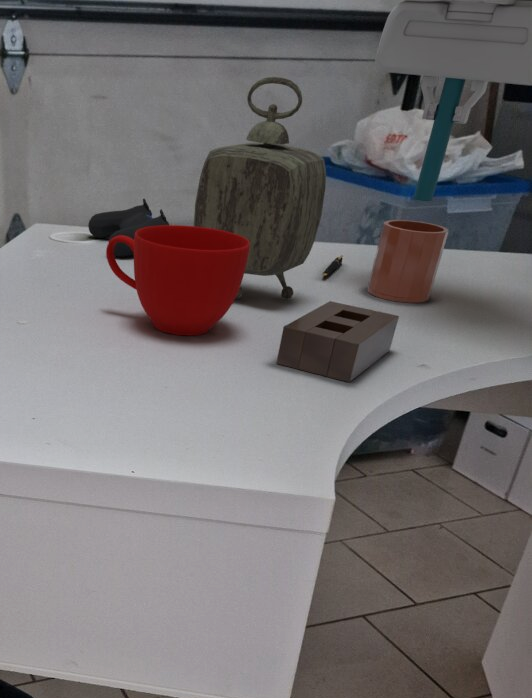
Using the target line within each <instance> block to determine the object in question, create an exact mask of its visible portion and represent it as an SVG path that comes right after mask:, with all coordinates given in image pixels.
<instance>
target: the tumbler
mask: <svg viewBox="0 0 532 698" xmlns="http://www.w3.org/2000/svg"><path fill="white" fill-rule="evenodd" d="M449 232H450V231H449V229H448V228H447V227H445V226H442V225H439V224H435V223H431V222H424V221H419V220H407V219H390V220H386V221H385V220H384V221H383V224H382V228H381V232H380V236H379V239H378V244H377V247H376V250H375V251H376V252H375V255H374V260H373V264H372V268H371V271H370V276H369V280H368V284H367V293H368V294H370V295H372V296H374V297H377V298H379V299H382V300H386V301H391V302H397V303H398V302H399V303H407V304H408V303H409V304H416V303H417V304H418V303H425V302H427V301H429V298H430V296H431V293H432V291H433V286H434V283H435V280H436V276H437V273H438V271H439V270H438V269H439V266H440V264H441V263H440V262H441V259H442V256H443V252H444V248H445V245H446V242H447V238H448V236H449Z"/></svg>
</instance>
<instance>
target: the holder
mask: <svg viewBox="0 0 532 698" xmlns="http://www.w3.org/2000/svg"><path fill="white" fill-rule="evenodd" d="M399 318H400V316H399V315H397V314H392V313H387V312H383V311H378V310H374V309H368V308H364V307H359V306H355V305H350V304H346V303H341V302H336V301H331V300H329V301H328V302H325V303H324V304H322V305H320V306H318V307H316V308H315V309H313V310H311V311H309V312H308V313H306V314H304V315H302V316H300V317H298V318H297V319H295V320H293V321H290V323H287V324H285V325H284V326H283V328H282V333H281V337H280V343H279V349H278V354H277V358H276V364H277V365H280V366H284V367H288V368H292V369H296V370H300V371H304V372H307V373H310V374H311V373H312V374H316V375H320V376H324V377H327V378H331V379H335V380H339V381H342V382H347V383H351V382H352V381H353V380H354V379H356V378H357V377H358V376H359V375H360V374H362V373H363V372H364V371H365V370H367V369H368V368H370V367H371V366H372V365H373V364H374V363H376V362H377V361H379V360H380V359H381V358H382V357H383V356H385V355H386V354H388V353H389V352H390V350H391V347H392V343H393V340H394V336H395V332H396V328H397V325H398V321H399Z"/></svg>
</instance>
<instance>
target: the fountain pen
mask: <svg viewBox="0 0 532 698" xmlns="http://www.w3.org/2000/svg"><path fill="white" fill-rule="evenodd" d="M343 257H344V255H342V254H341V255H340V256H338V257H335V259H333V260H332V261H331V263H330V264H329V265H328V266H327V267H326V269H325V270H324V271H323V272H322V276H323V277H324V278H326V277H328V276H329V275H330V274H331V273H333V272H334V271H335V270H336V269H338V268H339V267H340V266H341V264H342V263H343Z"/></svg>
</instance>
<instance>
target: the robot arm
mask: <svg viewBox="0 0 532 698" xmlns="http://www.w3.org/2000/svg"><path fill="white" fill-rule="evenodd" d="M374 63H375V66H376V68H377V71H378V72H381V73H390V74H391V73H392V74H403V75H414V76H423V77H422V81H421V85H420V88H421V92H422V97H423V102H424V104H425V105H424V109H423V112H422V118H421V119H422V120H427V121H434V119H435V116H436V112H437V108H438V104H439V103H436V101H435V97H434V92H433V88H436V87H438V82H439V78H444V79H445V78H455V79H466V81H467V80H468V81H472V82H471V85H470V88H469V89H470V92H473V93H472V95H470V97H469V98H468V99H467V101H466V102H464V104H463V105H459V106H456V109H455V112H454V113H455V115H454V116H453V120H452V122H454V124H463V125H465V124H467V122H468V121H469V120H468V119H469V116H470V113H471V109H472V108H473V107H474V106H475V105H476V103H477V102H478V101H479V100H480V99H481V98H482V97H483V96H484V94H485V93H486V90H487V87H488V85H489V83H500V84H510V85H511V84H512V85H519V86H520V85H522V86H532V0H402V1H401V2H398V3H397V4H396V5H395V6H394V7H393V8H392V9H391V11H390V12H389V14H388V16H387V18H386V21H385V23H384V27H383V30H382V33H381V36H380V39H379V42H378V46H377V50H376V54H375V59H374Z"/></svg>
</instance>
